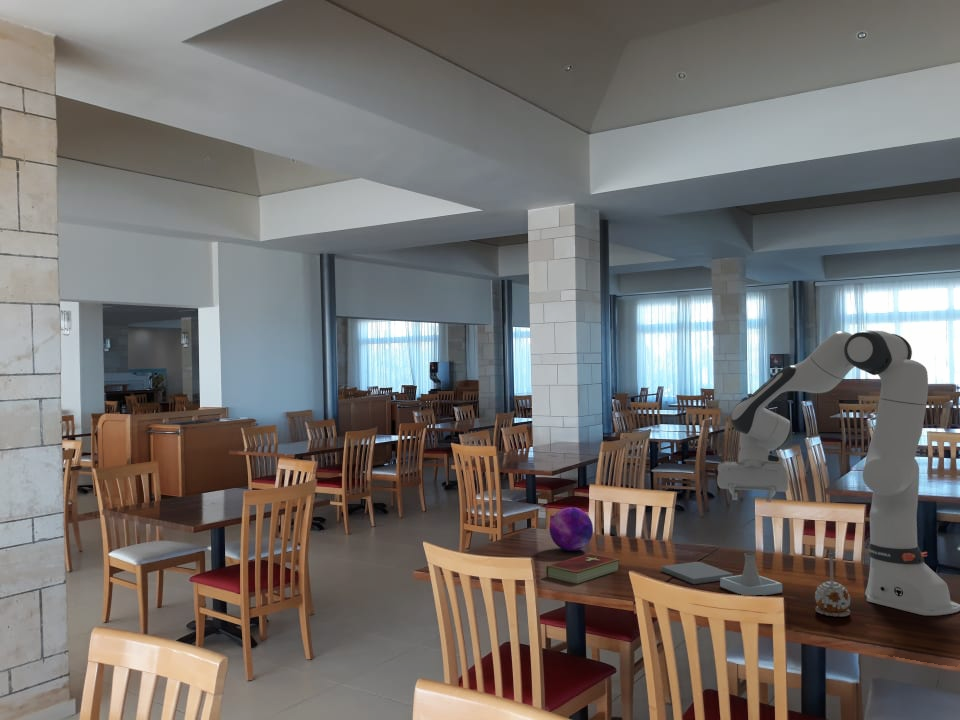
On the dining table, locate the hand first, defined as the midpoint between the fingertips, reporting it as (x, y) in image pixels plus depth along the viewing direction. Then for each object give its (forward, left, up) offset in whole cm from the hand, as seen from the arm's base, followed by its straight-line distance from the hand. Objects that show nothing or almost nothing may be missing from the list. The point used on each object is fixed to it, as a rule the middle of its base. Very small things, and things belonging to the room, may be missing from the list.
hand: (751, 500), depth 223 cm
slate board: (+10, +13, -23) cm, 28 cm away
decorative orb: (+54, +32, -23) cm, 67 cm away
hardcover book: (+26, +43, -24) cm, 55 cm away
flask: (-9, +9, -23) cm, 26 cm away
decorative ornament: (-34, +5, -23) cm, 41 cm away
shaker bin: (-9, +9, -23) cm, 26 cm away
